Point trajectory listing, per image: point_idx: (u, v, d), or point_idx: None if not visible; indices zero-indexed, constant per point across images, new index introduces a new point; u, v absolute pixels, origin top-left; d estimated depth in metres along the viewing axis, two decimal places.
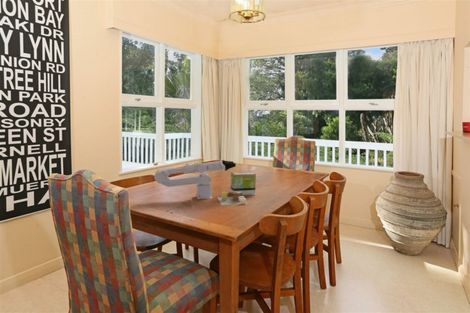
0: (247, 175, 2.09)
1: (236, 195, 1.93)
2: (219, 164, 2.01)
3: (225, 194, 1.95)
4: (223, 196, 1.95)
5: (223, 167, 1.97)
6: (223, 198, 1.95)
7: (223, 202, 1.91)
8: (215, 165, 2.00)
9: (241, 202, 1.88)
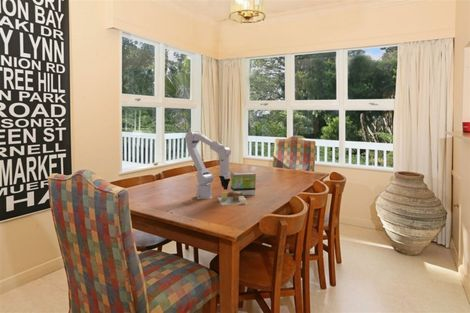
0: (247, 175, 2.09)
1: (236, 195, 1.93)
2: (227, 172, 1.93)
3: (225, 194, 1.95)
4: (223, 196, 1.95)
5: (225, 177, 1.88)
6: (223, 198, 1.95)
7: (223, 202, 1.91)
8: (226, 168, 1.92)
9: (241, 202, 1.88)
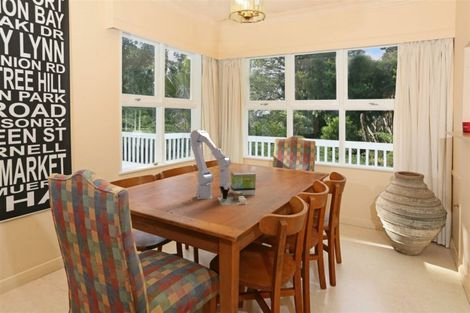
0: (247, 175, 2.09)
1: (236, 195, 1.93)
2: (227, 183, 1.93)
3: None
4: None
5: (225, 187, 1.89)
6: None
7: (223, 202, 1.91)
8: (226, 179, 1.93)
9: (241, 202, 1.88)
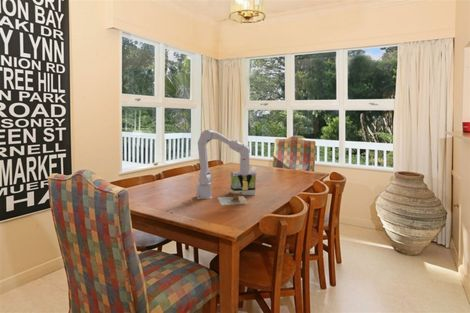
0: None
1: (236, 195, 1.93)
2: (241, 171, 1.95)
3: None
4: None
5: (233, 174, 1.95)
6: (242, 187, 1.98)
7: (223, 202, 1.91)
8: (240, 167, 1.95)
9: (241, 202, 1.88)
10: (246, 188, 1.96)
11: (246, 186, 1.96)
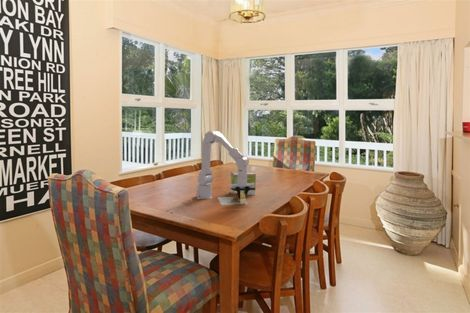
0: (247, 175, 2.09)
1: (236, 195, 1.93)
2: (238, 183, 1.88)
3: (240, 195, 1.90)
4: None
5: (230, 185, 1.89)
6: (239, 199, 1.91)
7: (223, 202, 1.91)
8: (238, 178, 1.88)
9: (241, 202, 1.88)
10: None
11: None
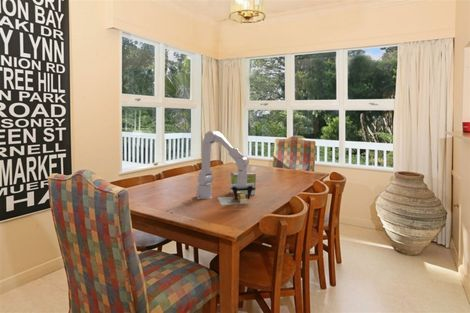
0: (247, 175, 2.09)
1: None
2: (238, 183, 1.88)
3: (240, 196, 1.90)
4: (239, 198, 1.91)
5: (230, 185, 1.89)
6: (239, 200, 1.92)
7: (223, 202, 1.91)
8: (238, 178, 1.88)
9: (241, 202, 1.88)
10: None
11: None
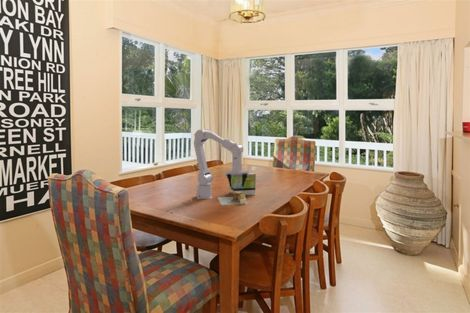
0: (247, 175, 2.09)
1: (236, 195, 1.93)
2: (233, 170, 1.91)
3: (240, 196, 1.90)
4: (239, 198, 1.91)
5: (225, 173, 1.92)
6: (239, 200, 1.92)
7: (223, 202, 1.91)
8: (232, 166, 1.91)
9: (241, 202, 1.88)
10: None
11: None
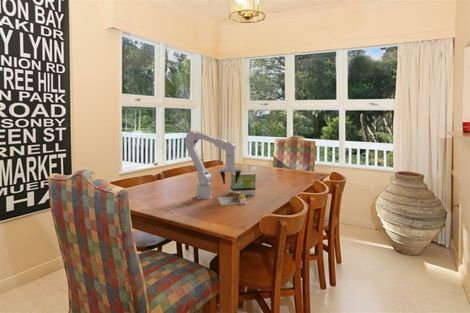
0: (247, 175, 2.09)
1: (236, 195, 1.93)
2: (226, 168, 1.96)
3: (240, 196, 1.90)
4: (239, 198, 1.91)
5: None
6: (239, 200, 1.92)
7: (223, 202, 1.91)
8: (226, 163, 1.96)
9: (241, 202, 1.88)
10: None
11: None
